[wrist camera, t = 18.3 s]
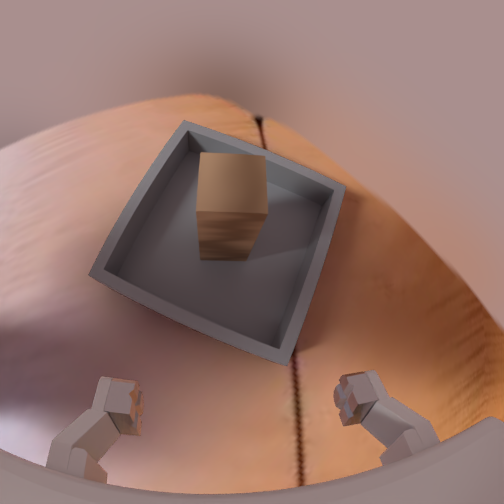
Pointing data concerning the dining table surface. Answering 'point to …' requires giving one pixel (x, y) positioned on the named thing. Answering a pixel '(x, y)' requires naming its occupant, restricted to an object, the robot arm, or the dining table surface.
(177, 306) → the bin
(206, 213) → the walnut block
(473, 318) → the dining table surface
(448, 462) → the robot arm
